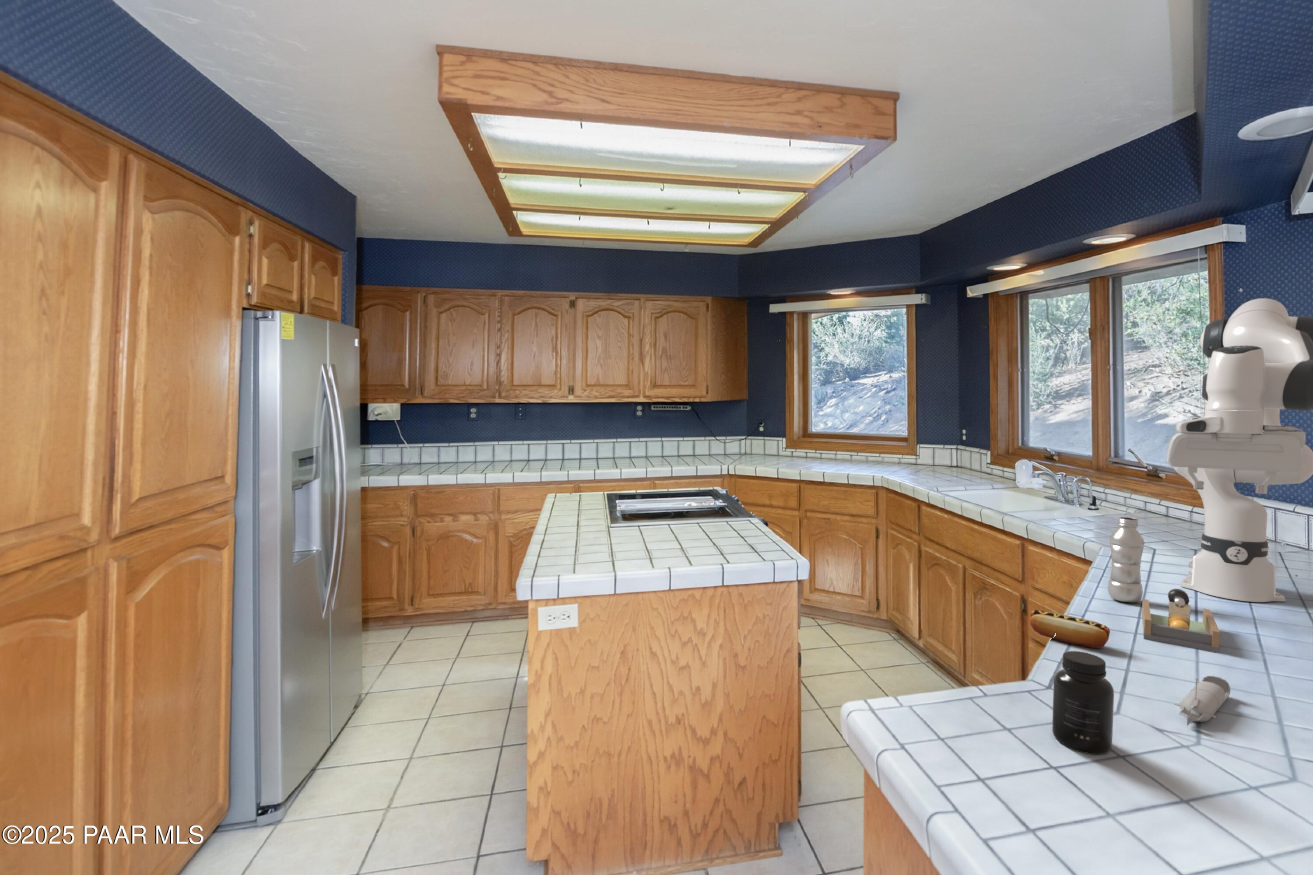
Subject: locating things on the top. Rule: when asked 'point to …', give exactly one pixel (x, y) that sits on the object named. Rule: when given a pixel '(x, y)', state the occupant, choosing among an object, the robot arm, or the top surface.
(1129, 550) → the plastic bottle
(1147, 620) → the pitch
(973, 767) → the top surface
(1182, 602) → the glass stem black base
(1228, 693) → the torpedo
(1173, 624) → the ball
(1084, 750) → the supplement bottle
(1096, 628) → the hot dog
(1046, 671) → the top surface
